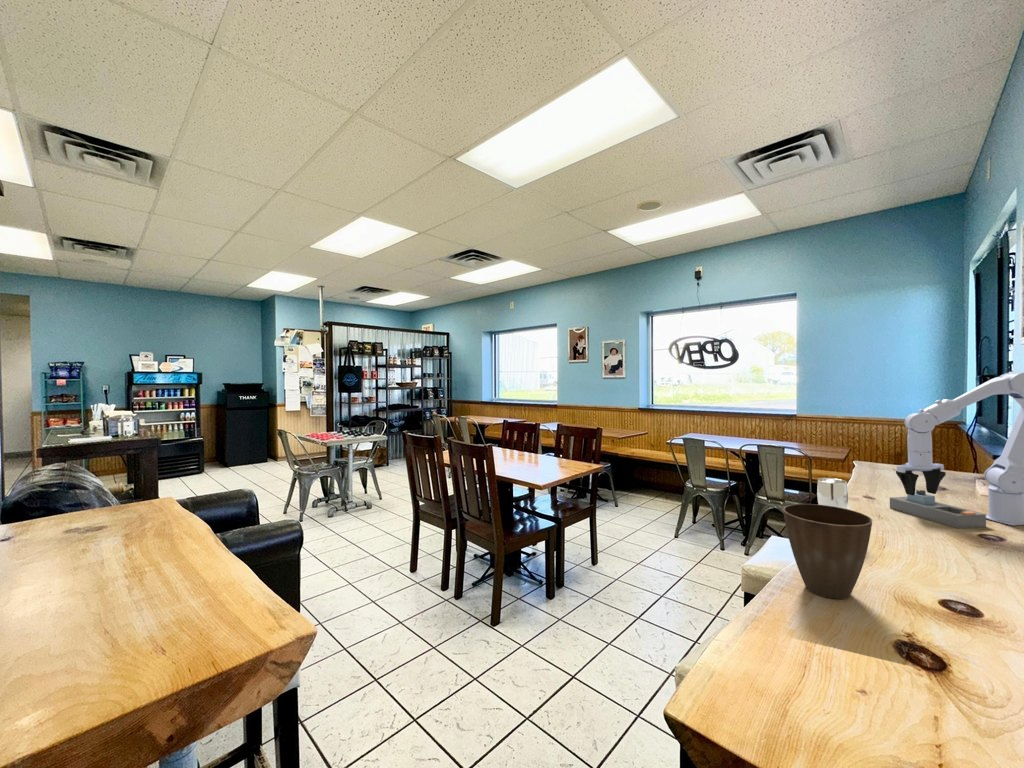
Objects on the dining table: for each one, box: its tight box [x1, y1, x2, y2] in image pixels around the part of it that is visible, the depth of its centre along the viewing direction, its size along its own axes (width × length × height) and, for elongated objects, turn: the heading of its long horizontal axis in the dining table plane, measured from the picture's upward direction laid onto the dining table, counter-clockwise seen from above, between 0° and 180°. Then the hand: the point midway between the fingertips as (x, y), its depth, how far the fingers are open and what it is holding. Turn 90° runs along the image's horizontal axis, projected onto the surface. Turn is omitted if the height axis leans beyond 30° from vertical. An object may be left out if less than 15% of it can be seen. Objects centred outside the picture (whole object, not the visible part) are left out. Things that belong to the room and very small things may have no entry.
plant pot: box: [782, 503, 873, 600], centre depth 89 cm, size 15×15×16 cm
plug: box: [906, 489, 936, 505], centre depth 137 cm, size 4×5×7 cm
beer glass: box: [816, 477, 849, 509], centre depth 121 cm, size 7×7×15 cm
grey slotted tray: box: [889, 496, 987, 529], centre depth 133 cm, size 9×20×4 cm, turn 6°
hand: (920, 493), depth 137 cm, fingers open, 7 cm apart
